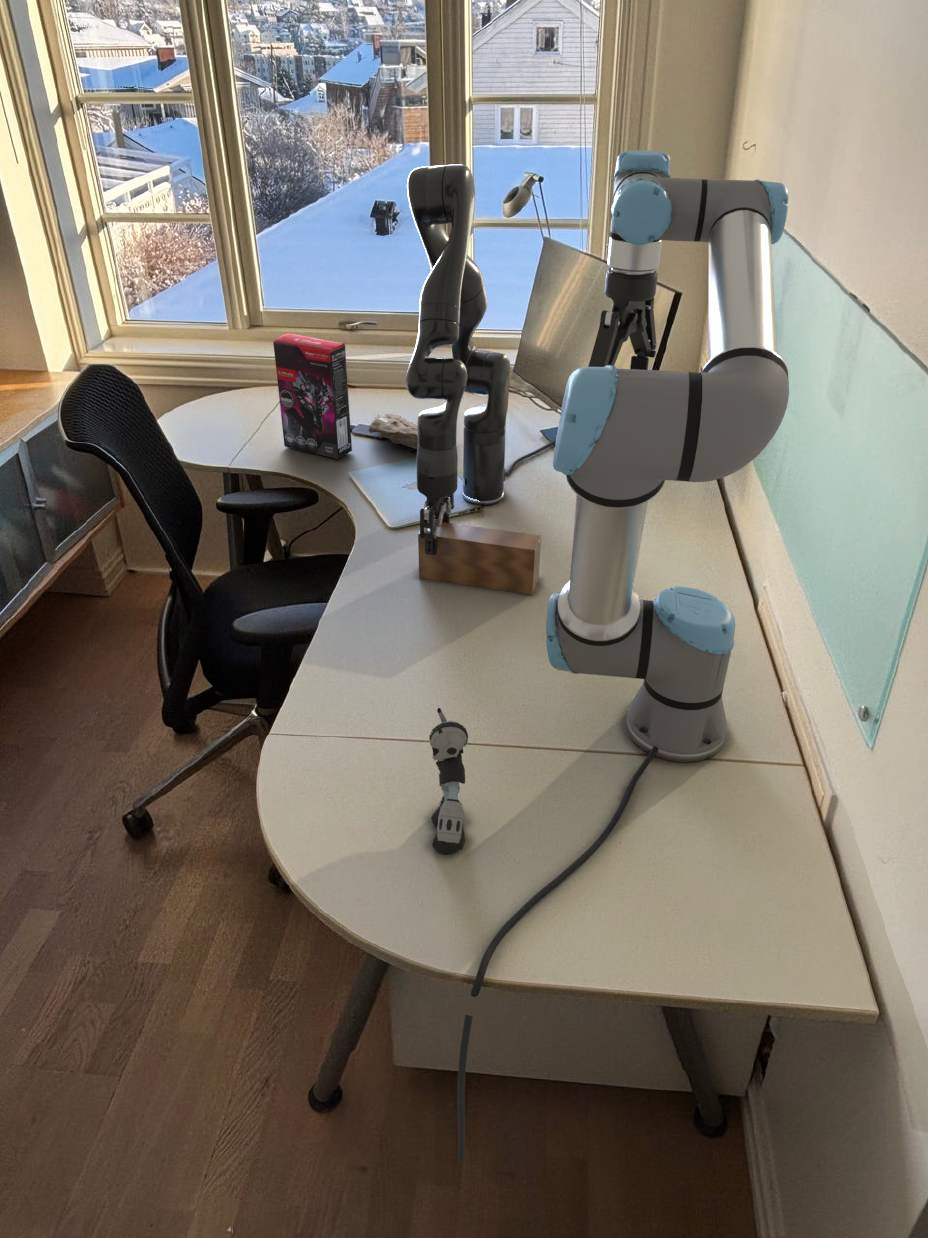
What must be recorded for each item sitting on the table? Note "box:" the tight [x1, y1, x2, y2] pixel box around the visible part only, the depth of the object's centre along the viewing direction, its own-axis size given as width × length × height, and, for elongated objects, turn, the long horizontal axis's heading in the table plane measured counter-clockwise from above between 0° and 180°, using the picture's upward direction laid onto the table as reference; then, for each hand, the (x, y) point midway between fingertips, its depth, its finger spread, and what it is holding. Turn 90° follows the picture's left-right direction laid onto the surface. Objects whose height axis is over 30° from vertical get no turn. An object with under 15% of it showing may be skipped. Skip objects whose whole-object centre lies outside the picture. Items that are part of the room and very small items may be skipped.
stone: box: [368, 413, 418, 450], centre depth 233 cm, size 21×15×6 cm
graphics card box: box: [272, 332, 353, 460], centre depth 223 cm, size 17×7×27 cm, turn 62°
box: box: [417, 522, 542, 596], centre depth 178 cm, size 23×6×10 cm, turn 75°
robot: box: [428, 707, 469, 855], centre depth 120 cm, size 20×5×20 cm, turn 3°
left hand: (437, 543), depth 178 cm, fingers open, 8 cm apart
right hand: (617, 408), depth 147 cm, fingers open, 13 cm apart
